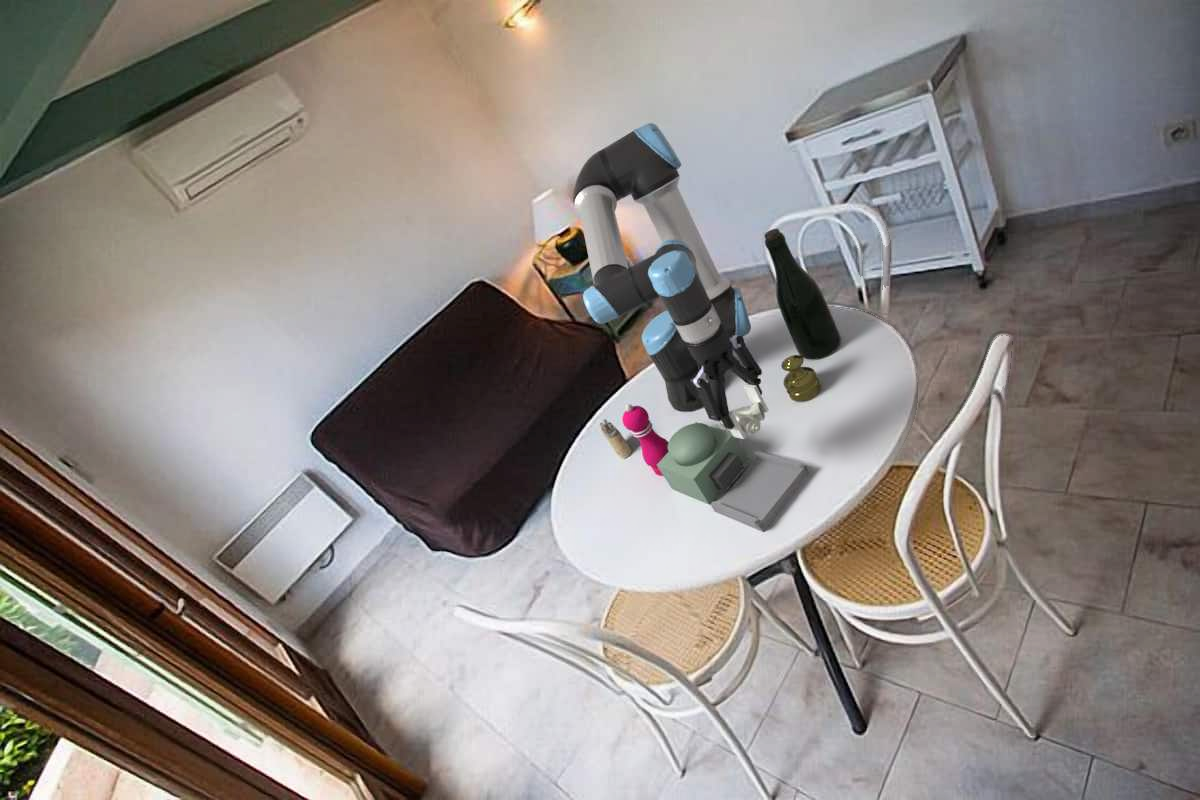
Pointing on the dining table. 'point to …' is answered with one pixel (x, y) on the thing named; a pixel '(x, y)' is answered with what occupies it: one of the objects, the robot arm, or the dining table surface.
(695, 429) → the mower housing
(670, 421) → the dining table surface
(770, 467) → the tray
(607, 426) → the tan cylindrical piece
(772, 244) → the dark green wine bottle
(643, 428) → the pepper mill
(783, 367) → the brass rounded piece
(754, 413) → the pipe fitting
